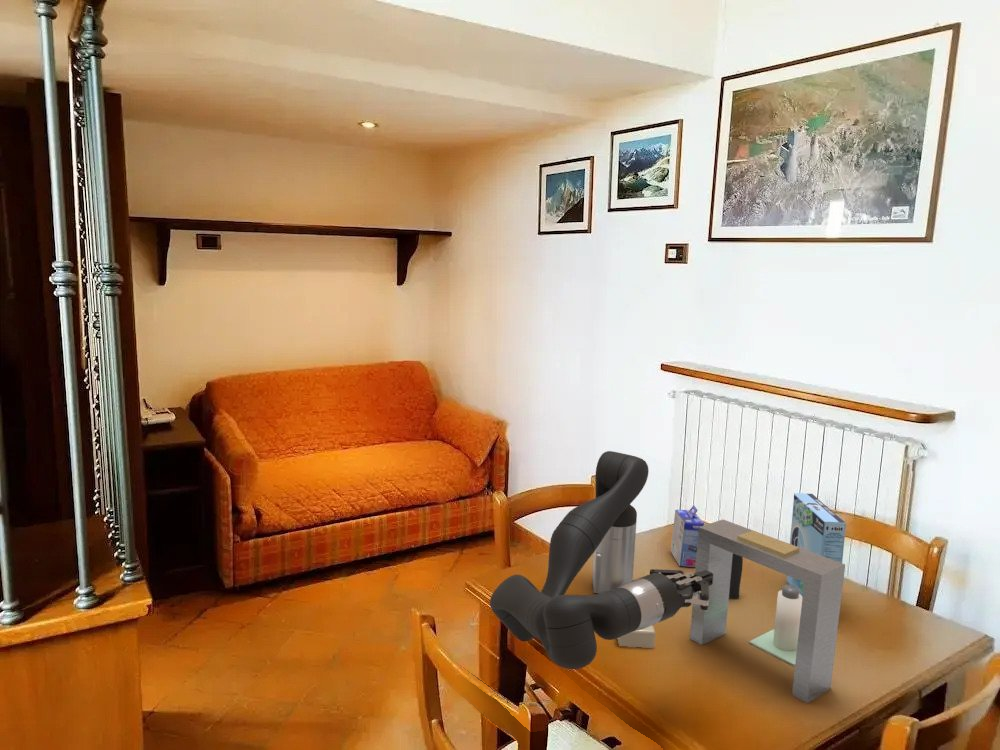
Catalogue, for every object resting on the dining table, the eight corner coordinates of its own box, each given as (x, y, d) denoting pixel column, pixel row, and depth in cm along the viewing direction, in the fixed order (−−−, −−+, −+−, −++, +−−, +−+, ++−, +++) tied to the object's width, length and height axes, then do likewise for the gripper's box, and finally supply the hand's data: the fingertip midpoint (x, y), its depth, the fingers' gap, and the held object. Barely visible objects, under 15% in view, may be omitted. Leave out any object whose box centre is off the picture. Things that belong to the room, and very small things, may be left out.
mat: (794, 666, 137) (794, 664, 137) (749, 643, 145) (749, 641, 145) (821, 650, 143) (821, 648, 143) (776, 629, 151) (776, 627, 151)
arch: (807, 703, 126) (822, 572, 122) (689, 638, 146) (699, 524, 142) (830, 688, 130) (845, 561, 126) (713, 627, 151) (723, 516, 147)
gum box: (836, 621, 155) (848, 523, 152) (812, 619, 156) (823, 521, 152) (805, 581, 174) (814, 493, 171) (784, 580, 175) (793, 492, 171)
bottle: (777, 650, 142) (783, 593, 140) (769, 638, 147) (775, 582, 144) (800, 651, 142) (806, 594, 140) (792, 639, 146) (798, 583, 144)
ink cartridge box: (701, 568, 180) (705, 514, 178) (679, 567, 180) (683, 514, 178) (690, 552, 190) (694, 501, 188) (670, 551, 190) (674, 500, 188)
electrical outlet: (641, 589, 159) (655, 631, 142) (640, 606, 160) (654, 650, 142) (609, 588, 160) (620, 630, 142) (608, 605, 160) (618, 648, 143)
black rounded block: (735, 591, 168) (739, 546, 166) (740, 599, 164) (744, 553, 162) (706, 590, 168) (709, 545, 166) (710, 598, 164) (713, 551, 162)
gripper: (613, 607, 121) (678, 582, 132) (674, 640, 111) (740, 611, 121) (615, 566, 120) (681, 544, 130) (677, 596, 110) (743, 570, 120)
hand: (709, 576), depth 126 cm, fingers closed
